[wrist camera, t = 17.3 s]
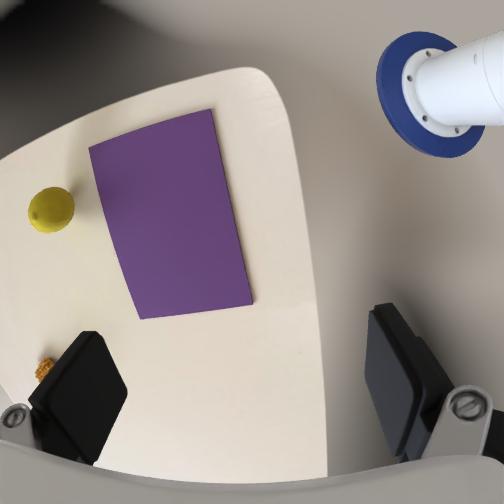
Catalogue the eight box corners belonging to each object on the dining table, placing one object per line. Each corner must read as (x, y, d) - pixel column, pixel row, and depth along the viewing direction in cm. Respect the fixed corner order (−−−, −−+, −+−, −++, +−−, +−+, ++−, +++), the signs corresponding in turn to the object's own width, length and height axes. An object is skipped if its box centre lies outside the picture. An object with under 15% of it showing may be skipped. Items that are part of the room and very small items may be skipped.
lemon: (51, 186, 34) (13, 197, 27) (81, 179, 34) (44, 190, 26) (58, 225, 36) (22, 243, 28) (88, 221, 36) (53, 239, 28)
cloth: (89, 147, 32) (88, 147, 32) (210, 108, 31) (210, 108, 31) (140, 318, 40) (140, 319, 40) (253, 303, 39) (253, 304, 38)
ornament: (31, 400, 43) (80, 431, 40) (19, 355, 42) (68, 383, 38) (52, 387, 50) (102, 414, 46) (43, 344, 48) (93, 368, 45)
